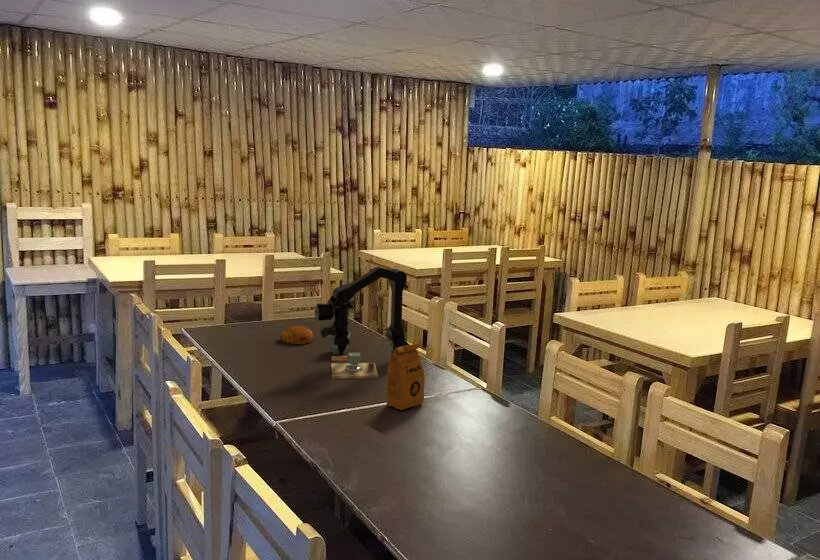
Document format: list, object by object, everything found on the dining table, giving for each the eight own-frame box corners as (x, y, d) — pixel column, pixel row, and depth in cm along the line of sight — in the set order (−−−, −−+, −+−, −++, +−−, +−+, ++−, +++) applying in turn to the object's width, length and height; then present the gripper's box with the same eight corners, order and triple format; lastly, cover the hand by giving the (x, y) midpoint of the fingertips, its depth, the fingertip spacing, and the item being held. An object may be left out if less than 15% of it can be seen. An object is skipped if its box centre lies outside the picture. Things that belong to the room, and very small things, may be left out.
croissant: (278, 343, 311) (276, 326, 310) (310, 335, 317) (307, 319, 316) (286, 350, 298) (283, 333, 297) (318, 342, 304) (316, 326, 303)
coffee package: (428, 405, 232) (430, 345, 228) (400, 413, 224) (402, 351, 220) (409, 397, 239) (411, 339, 235) (382, 405, 231) (384, 344, 227)
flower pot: (348, 356, 286) (348, 336, 285) (328, 355, 286) (328, 335, 285) (350, 350, 295) (350, 331, 293) (331, 349, 295) (331, 330, 293)
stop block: (369, 369, 266) (369, 362, 266) (374, 369, 266) (374, 362, 265) (368, 370, 264) (368, 363, 264) (373, 371, 264) (373, 364, 263)
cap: (359, 359, 268) (359, 351, 267) (360, 363, 263) (360, 355, 263) (331, 360, 266) (331, 352, 266) (331, 363, 262) (331, 355, 261)
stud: (362, 366, 270) (362, 359, 269) (363, 371, 263) (363, 364, 262) (345, 366, 269) (345, 359, 268) (345, 372, 262) (345, 364, 261)
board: (374, 365, 275) (374, 362, 275) (378, 377, 260) (378, 375, 259) (331, 365, 273) (331, 363, 272) (332, 378, 257) (332, 376, 257)
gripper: (320, 313, 274) (320, 349, 277) (321, 324, 256) (321, 363, 259) (347, 313, 275) (347, 349, 278) (349, 324, 257) (349, 362, 260)
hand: (340, 355), depth 269 cm, fingers closed
